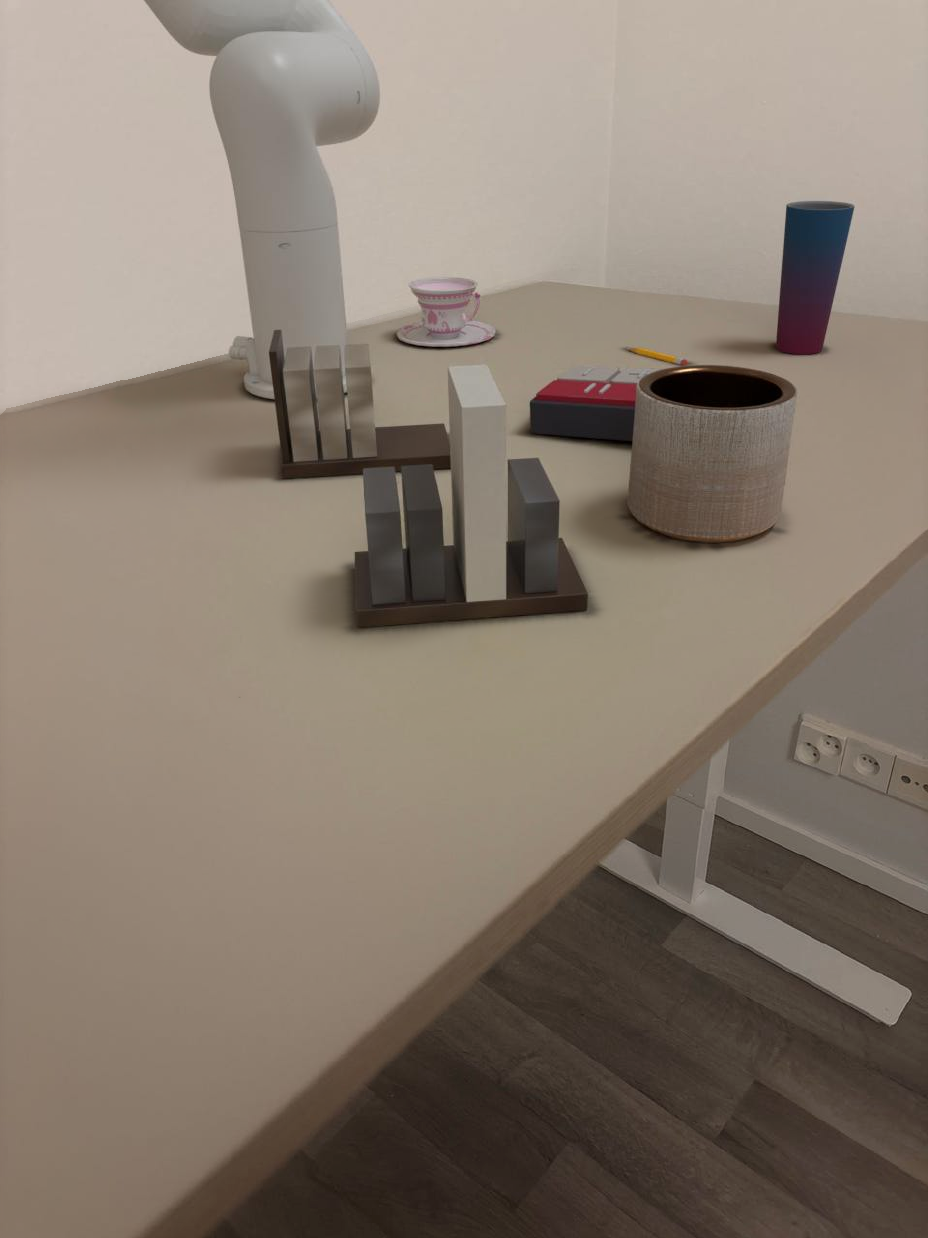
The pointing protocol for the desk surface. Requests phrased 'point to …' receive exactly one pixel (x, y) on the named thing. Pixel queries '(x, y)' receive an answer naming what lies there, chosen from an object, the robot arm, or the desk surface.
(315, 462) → the brown rack
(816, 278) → the cup
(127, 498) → the desk surface
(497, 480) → the white book
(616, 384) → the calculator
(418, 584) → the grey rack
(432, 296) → the teacup
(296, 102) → the robot arm
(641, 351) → the pencil
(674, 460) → the planter
